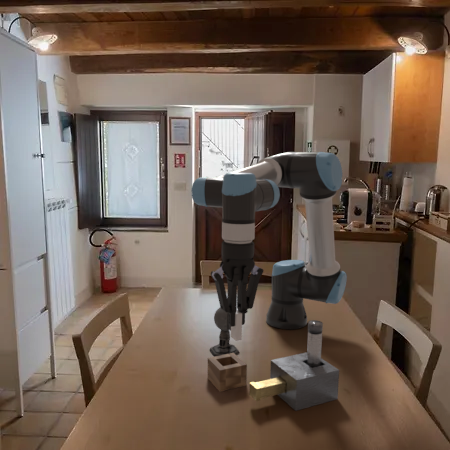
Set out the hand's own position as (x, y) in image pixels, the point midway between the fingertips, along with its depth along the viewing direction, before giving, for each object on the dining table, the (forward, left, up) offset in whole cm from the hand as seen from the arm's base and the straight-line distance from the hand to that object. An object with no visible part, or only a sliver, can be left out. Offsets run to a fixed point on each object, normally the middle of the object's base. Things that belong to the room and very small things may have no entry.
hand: (236, 338), depth 109 cm
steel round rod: (-23, 0, -18) cm, 29 cm away
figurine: (-13, -32, -19) cm, 39 cm away
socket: (-20, 0, -19) cm, 27 cm away
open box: (-5, -14, -19) cm, 24 cm away
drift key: (-10, 0, -17) cm, 19 cm away
